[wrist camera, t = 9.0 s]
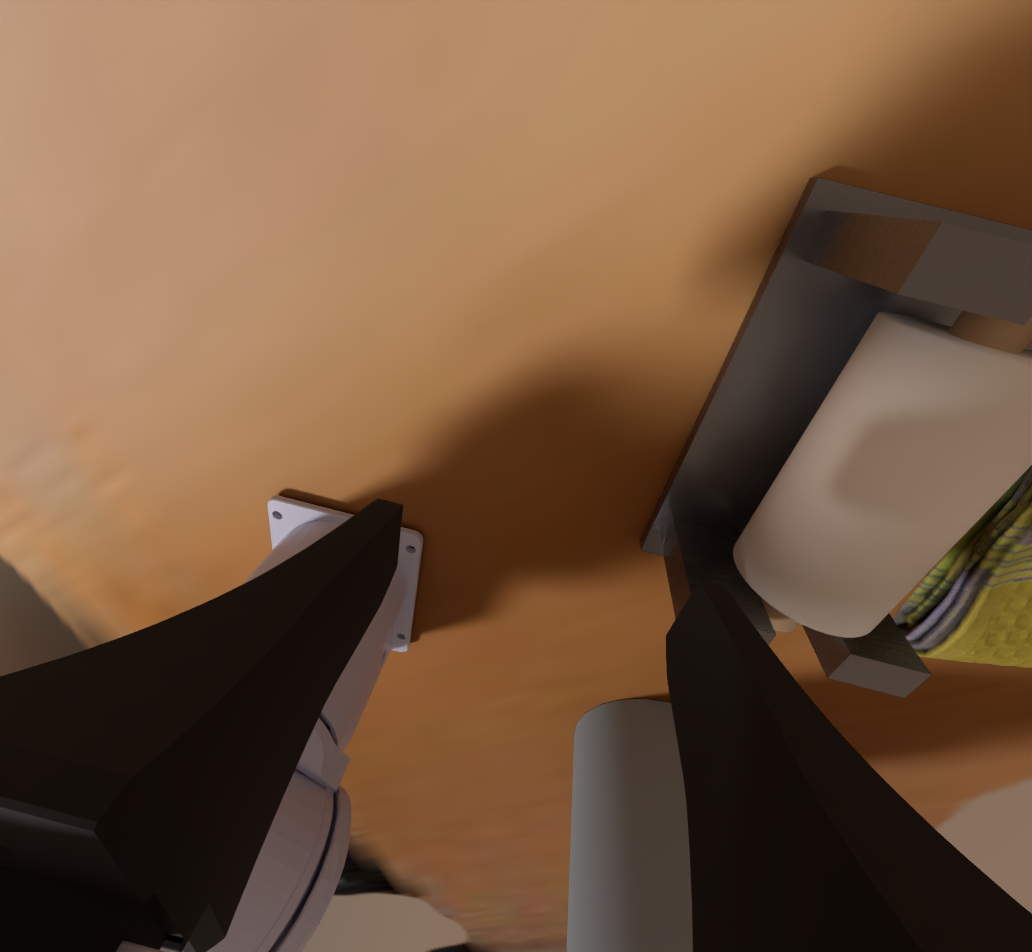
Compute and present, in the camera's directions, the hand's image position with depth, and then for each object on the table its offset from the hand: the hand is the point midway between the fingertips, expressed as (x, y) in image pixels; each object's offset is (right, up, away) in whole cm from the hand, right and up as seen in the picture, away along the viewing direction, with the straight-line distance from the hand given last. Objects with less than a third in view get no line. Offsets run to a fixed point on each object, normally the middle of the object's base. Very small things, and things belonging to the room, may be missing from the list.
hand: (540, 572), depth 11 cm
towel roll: (+11, +2, +3) cm, 12 cm away
